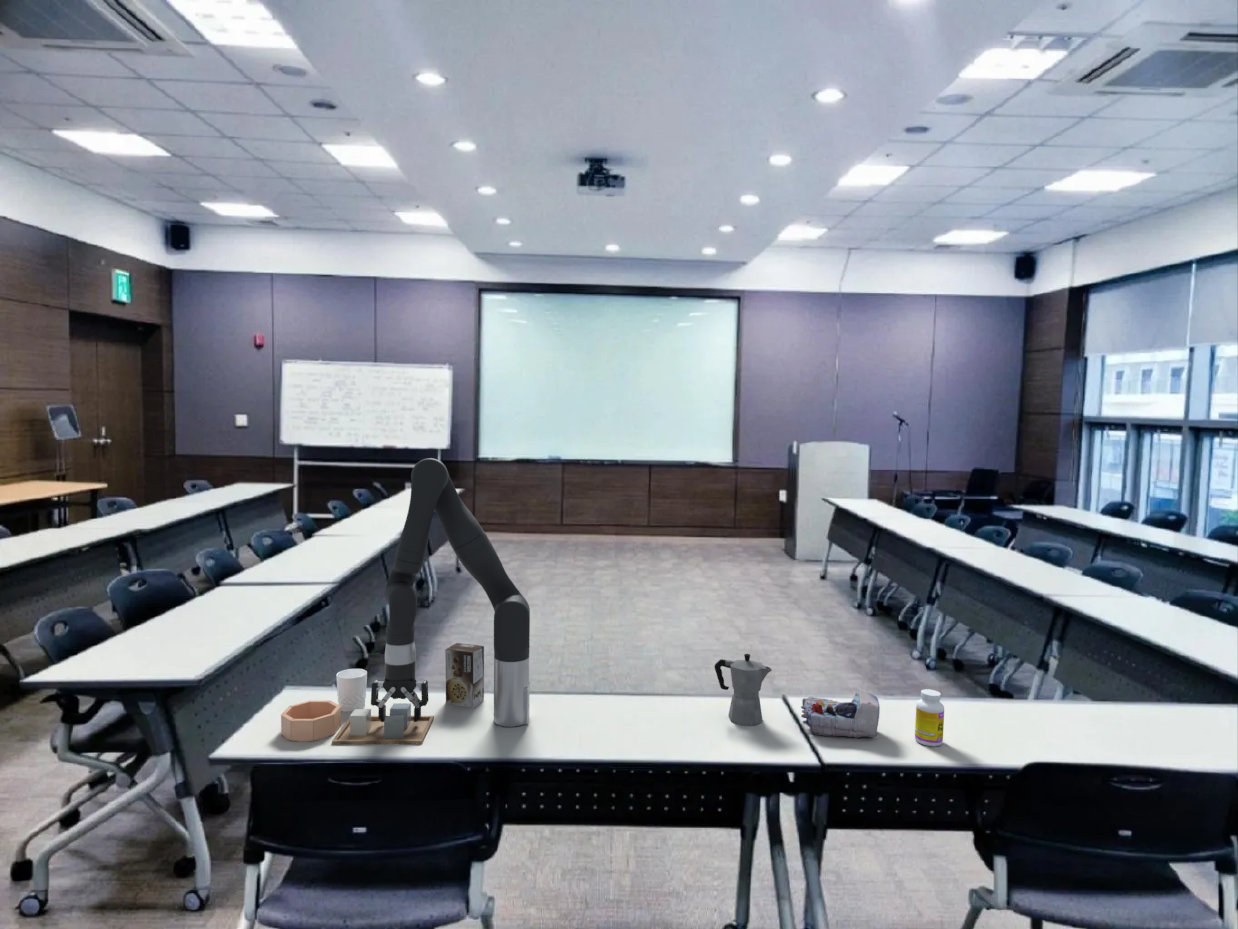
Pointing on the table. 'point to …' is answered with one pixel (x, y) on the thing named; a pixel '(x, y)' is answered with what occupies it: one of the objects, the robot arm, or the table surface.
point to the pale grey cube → (360, 722)
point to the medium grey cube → (394, 727)
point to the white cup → (351, 689)
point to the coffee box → (464, 674)
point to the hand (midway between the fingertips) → (399, 720)
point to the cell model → (842, 715)
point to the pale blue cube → (402, 712)
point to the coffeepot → (744, 689)
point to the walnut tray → (376, 734)
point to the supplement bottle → (929, 718)
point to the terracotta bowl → (310, 720)
